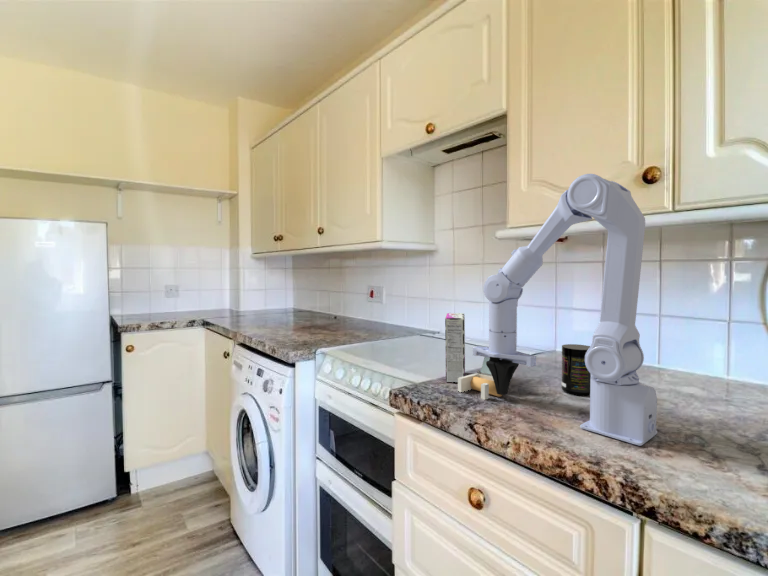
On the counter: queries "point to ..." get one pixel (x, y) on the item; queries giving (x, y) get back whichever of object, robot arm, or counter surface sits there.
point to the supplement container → (575, 370)
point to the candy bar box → (455, 346)
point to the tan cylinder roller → (478, 381)
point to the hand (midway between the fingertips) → (502, 393)
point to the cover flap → (485, 366)
